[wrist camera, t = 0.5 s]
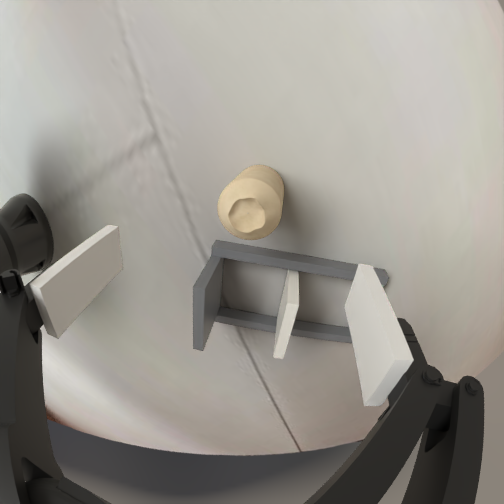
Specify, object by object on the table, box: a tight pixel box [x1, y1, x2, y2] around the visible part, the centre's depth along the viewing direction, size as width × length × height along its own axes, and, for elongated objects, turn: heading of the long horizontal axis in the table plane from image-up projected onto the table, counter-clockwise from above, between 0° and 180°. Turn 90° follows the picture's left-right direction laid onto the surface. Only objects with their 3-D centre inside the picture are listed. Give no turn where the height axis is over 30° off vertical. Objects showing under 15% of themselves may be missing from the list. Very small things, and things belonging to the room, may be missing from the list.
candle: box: [217, 165, 284, 240], centre depth 26 cm, size 6×6×10 cm
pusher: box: [273, 269, 299, 359], centre depth 33 cm, size 1×8×8 cm, turn 173°
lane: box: [193, 240, 389, 351], centre depth 32 cm, size 22×11×9 cm, turn 83°
